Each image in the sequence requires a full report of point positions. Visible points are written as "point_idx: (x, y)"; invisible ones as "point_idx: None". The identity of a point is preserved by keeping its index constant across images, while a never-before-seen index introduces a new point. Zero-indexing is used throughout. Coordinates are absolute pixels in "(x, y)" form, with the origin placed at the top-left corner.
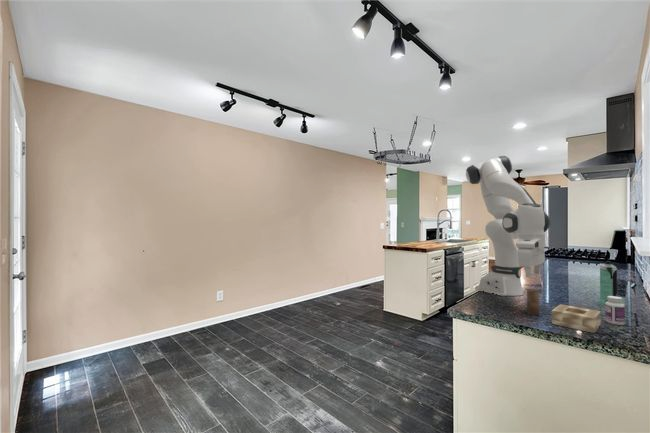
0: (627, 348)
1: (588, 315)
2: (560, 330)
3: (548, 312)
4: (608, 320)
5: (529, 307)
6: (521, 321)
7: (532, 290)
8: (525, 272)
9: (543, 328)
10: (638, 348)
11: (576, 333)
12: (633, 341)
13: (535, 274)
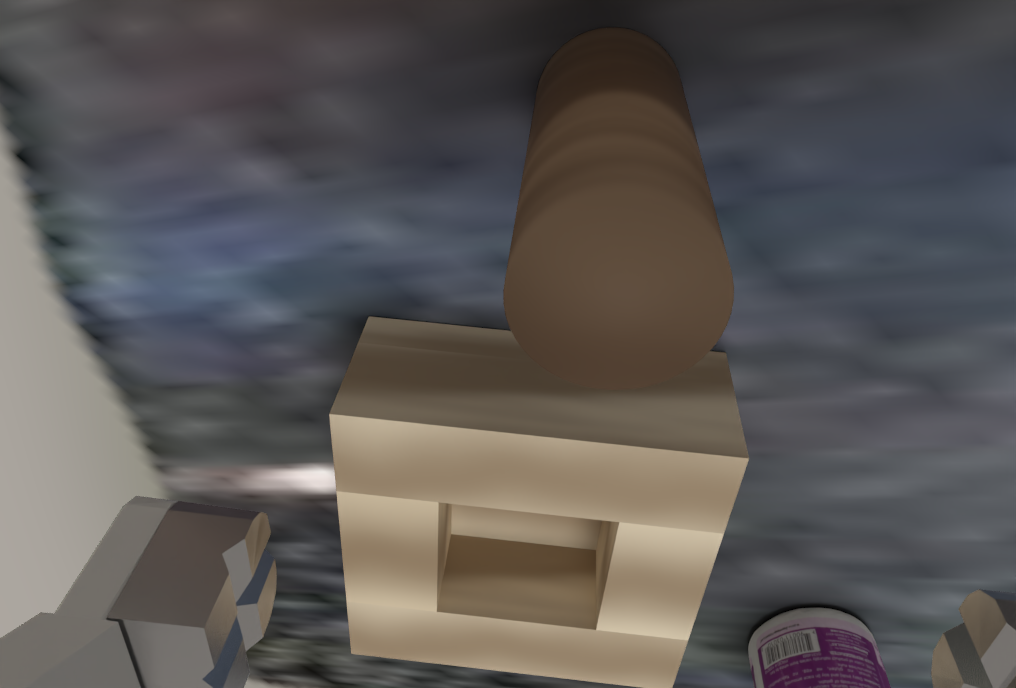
0: None
1: (422, 631)
2: (221, 386)
3: (848, 236)
4: (772, 631)
5: (537, 110)
6: (152, 53)
7: (568, 301)
8: (14, 631)
9: (136, 277)
10: (281, 675)
11: (257, 470)
12: (397, 671)
13: (963, 612)
